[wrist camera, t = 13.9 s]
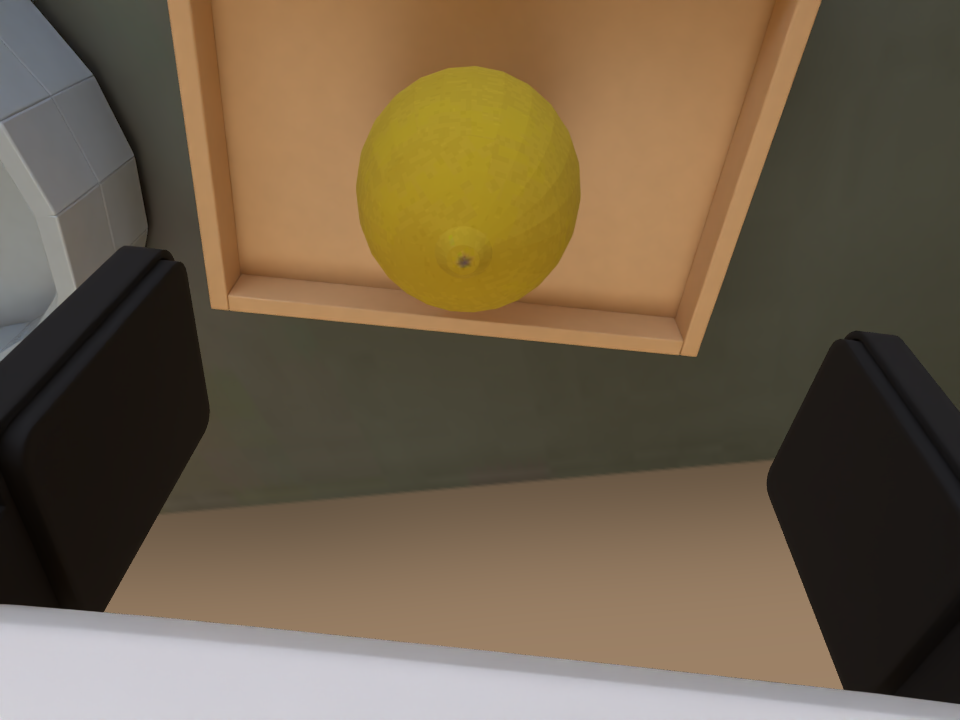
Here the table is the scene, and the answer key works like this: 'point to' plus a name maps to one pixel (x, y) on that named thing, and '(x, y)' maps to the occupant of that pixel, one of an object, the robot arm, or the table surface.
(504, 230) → the lemon
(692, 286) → the tray
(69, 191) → the bowl
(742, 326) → the table surface
